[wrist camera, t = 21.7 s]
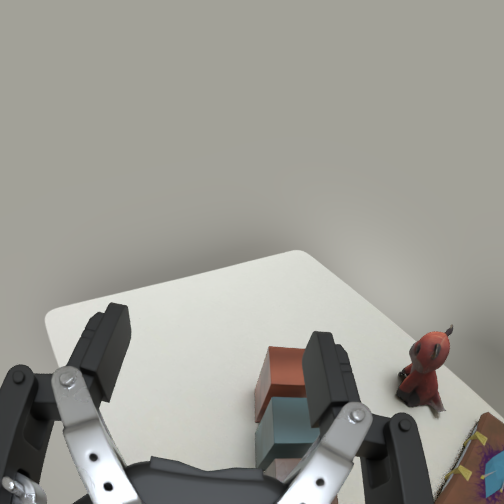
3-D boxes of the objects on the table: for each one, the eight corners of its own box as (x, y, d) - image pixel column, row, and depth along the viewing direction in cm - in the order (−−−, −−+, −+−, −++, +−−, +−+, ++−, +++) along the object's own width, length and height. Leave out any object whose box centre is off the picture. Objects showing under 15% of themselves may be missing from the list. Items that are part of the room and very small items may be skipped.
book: (399, 536, 17) (423, 527, 15) (473, 420, 31) (490, 402, 29) (470, 578, 6) (497, 570, 4) (526, 459, 20) (545, 443, 18)
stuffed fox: (434, 430, 30) (485, 380, 24) (378, 393, 36) (420, 337, 30) (446, 398, 35) (489, 347, 29) (396, 365, 41) (432, 311, 35)
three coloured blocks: (303, 519, 20) (338, 505, 15) (256, 521, 20) (277, 511, 15) (292, 391, 35) (312, 349, 31) (254, 389, 35) (268, 345, 31)
